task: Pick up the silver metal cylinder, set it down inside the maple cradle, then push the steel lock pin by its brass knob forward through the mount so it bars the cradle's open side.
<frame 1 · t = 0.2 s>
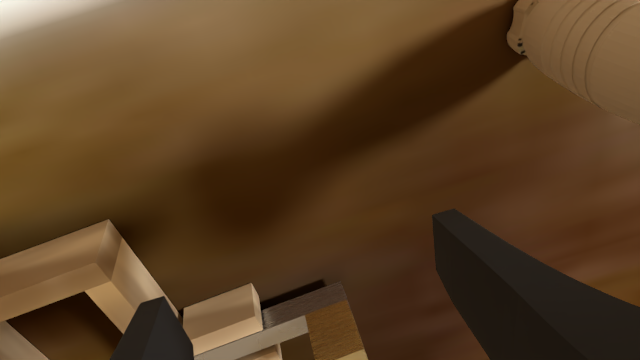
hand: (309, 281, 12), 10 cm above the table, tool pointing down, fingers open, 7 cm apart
lock pin: (256, 356, 23), point 3 cm above the table, slide at 0.0 cm
handle: (532, 19, 20), on the table
dock: (75, 309, 23), on the table
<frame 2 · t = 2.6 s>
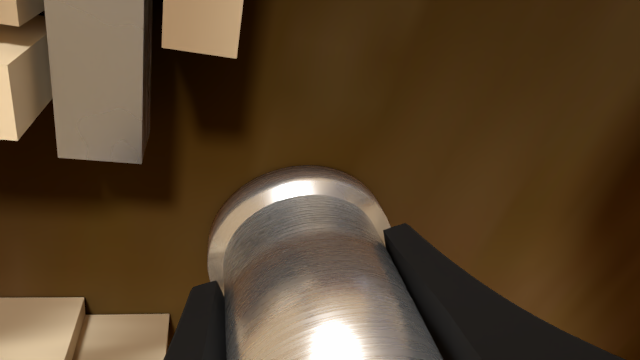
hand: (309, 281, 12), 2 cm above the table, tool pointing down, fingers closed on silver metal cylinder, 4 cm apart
silver metal cylinder: (298, 242, 13), on the table, touching gripper
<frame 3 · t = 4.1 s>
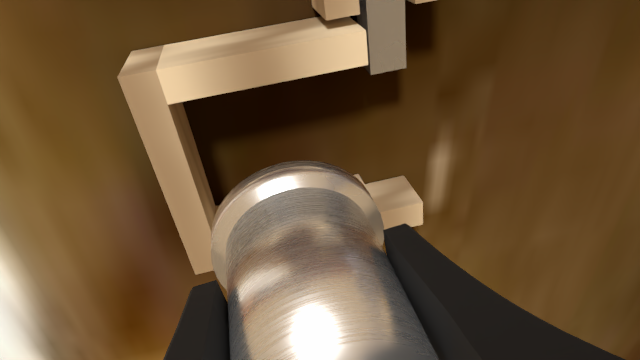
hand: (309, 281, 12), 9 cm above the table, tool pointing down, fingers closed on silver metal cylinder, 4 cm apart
silver metal cylinder: (296, 233, 14), point 7 cm above the table, touching gripper
dock: (269, 131, 19), on the table
when the fingers open (3 cm above the table, at t = 5.6 s): silver metal cylinder drops 1 cm, resting in dock.
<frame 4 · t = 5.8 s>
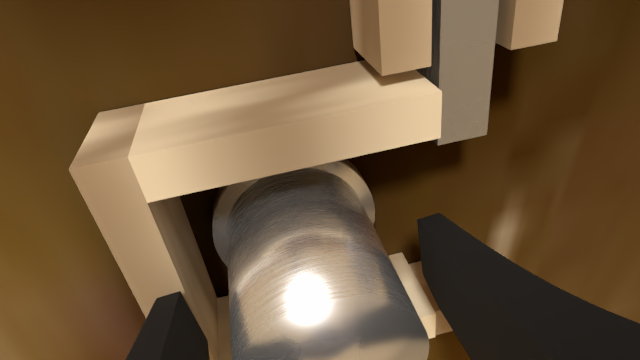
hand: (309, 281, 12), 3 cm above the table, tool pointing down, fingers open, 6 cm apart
silver metal cylinder: (292, 213, 15), resting in dock
dock: (289, 207, 14), on the table
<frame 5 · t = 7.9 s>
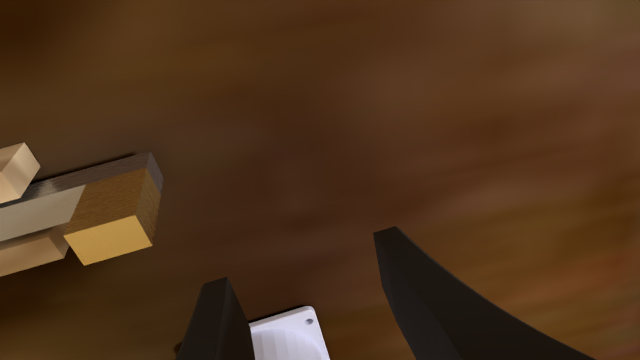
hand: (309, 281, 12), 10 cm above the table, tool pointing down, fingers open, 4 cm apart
lock pin: (7, 235, 17), point 3 cm above the table, slide at 0.0 cm
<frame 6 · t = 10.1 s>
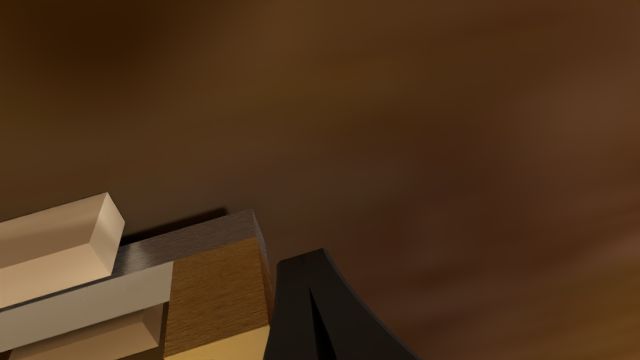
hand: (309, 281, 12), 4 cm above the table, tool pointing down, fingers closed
lock pin: (67, 335, 12), point 3 cm above the table, slide at 0.7 cm, touching gripper
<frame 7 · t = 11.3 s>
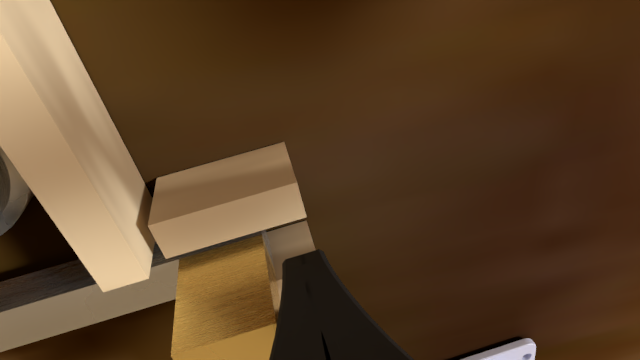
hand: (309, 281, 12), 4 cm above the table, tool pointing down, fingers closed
lock pin: (73, 333, 12), point 3 cm above the table, slide at 6.1 cm, touching gripper
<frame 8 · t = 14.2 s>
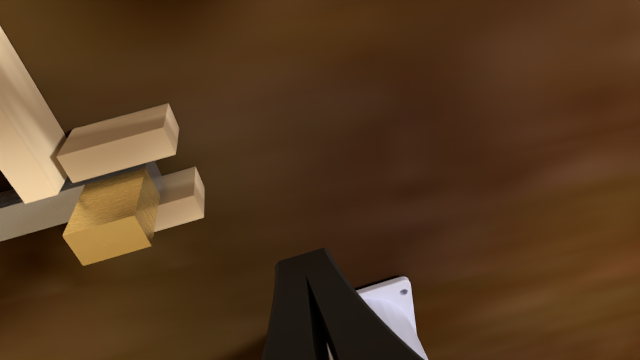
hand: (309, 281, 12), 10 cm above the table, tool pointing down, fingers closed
lock pin: (6, 235, 17), point 3 cm above the table, slide at 6.0 cm
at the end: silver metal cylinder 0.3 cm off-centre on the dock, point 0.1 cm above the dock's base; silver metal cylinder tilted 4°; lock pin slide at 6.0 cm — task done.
